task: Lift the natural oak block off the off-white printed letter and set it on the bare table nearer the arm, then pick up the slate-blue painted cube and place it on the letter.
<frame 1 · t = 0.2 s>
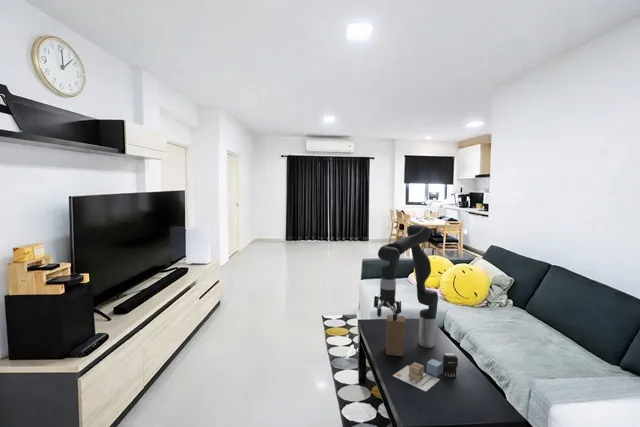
hand: (386, 318, 172), 28 cm above the table, fingers open, 8 cm apart
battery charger: (449, 377, 172), on the table
oak block: (416, 377, 170), resting on letter
letter: (416, 377, 170), on the table
wooden block: (394, 352, 196), on the table
blue cube: (434, 373, 175), on the table
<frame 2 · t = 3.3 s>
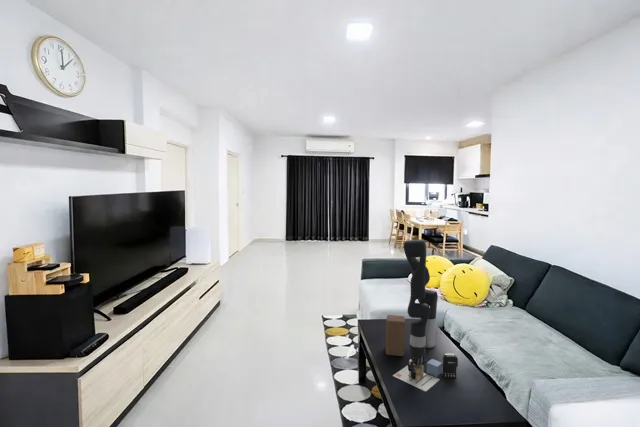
hand: (416, 376, 170), 1 cm above the table, fingers closed on oak block, 5 cm apart
oak block: (416, 377, 170), resting on letter, touching gripper
everything else where it was.
when the fingers open (2 cm above the table, at t = 8.1 s): oak block drops 2 cm, on the table.
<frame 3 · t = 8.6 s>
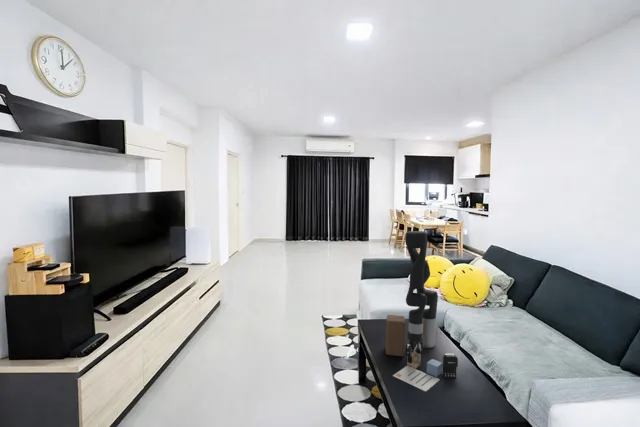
hand: (413, 359, 182), 3 cm above the table, fingers open, 8 cm apart
oak block: (413, 365, 182), on the table
everything else where it was.
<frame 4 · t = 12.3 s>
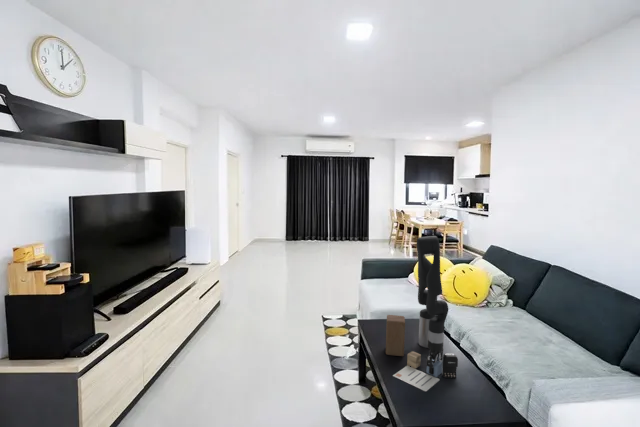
hand: (434, 371, 175), 1 cm above the table, fingers closed on blue cube, 5 cm apart
blue cube: (434, 372, 175), on the table, touching gripper
everything else where it was.
when the fingers open (2 cm above the table, at t = 17.3 s): blue cube stays where it is, resting on letter.
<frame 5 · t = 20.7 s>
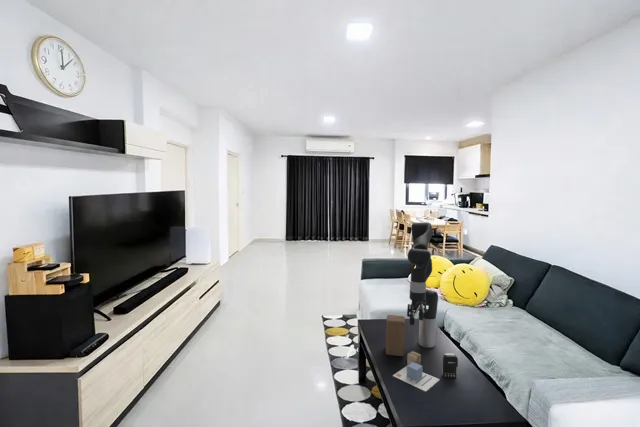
hand: (416, 322, 169), 28 cm above the table, fingers open, 8 cm apart
blue cube: (414, 376, 171), resting on letter
everything else where it was.
at the end: blue cube inside the target area on the letter (1.0 cm from its centre), point 0.2 cm above the letter's base; blue cube tilted 0°; oak block inside the target area (2.1 cm from its centre), on the table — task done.
